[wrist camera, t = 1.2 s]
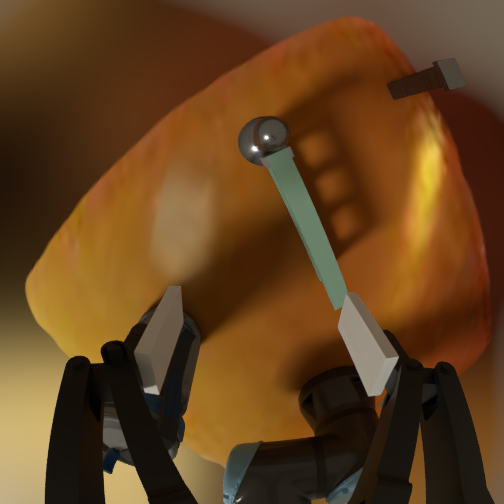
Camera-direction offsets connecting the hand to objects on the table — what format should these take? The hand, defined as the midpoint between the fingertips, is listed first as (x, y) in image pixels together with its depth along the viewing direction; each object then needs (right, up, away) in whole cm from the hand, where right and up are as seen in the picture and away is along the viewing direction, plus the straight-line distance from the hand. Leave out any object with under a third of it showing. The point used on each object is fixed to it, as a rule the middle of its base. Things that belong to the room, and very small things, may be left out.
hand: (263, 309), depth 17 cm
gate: (+5, +8, +17) cm, 20 cm away
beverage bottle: (-13, -8, +24) cm, 28 cm away
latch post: (+19, +26, +12) cm, 34 cm away
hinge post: (+1, +17, +15) cm, 23 cm away
